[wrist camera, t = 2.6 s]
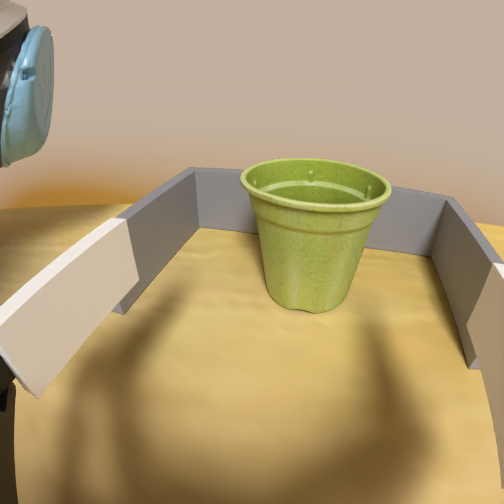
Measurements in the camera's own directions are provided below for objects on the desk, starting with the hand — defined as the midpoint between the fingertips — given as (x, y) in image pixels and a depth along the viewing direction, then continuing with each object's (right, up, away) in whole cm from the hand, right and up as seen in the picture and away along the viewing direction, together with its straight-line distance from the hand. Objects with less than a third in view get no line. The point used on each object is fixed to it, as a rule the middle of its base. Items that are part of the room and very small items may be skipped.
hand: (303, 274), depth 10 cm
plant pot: (+2, -2, +13) cm, 14 cm away
